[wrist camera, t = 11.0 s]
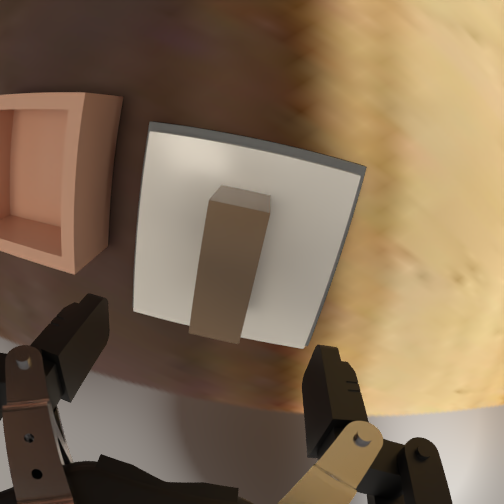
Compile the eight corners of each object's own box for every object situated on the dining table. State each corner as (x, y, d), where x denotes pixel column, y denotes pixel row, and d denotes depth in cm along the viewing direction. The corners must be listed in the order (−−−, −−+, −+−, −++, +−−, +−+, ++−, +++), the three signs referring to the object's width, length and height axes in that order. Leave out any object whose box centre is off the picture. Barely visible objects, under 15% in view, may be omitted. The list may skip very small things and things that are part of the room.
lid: (155, 130, 19) (121, 133, 14) (356, 173, 19) (382, 189, 15) (138, 304, 24) (112, 342, 19) (302, 340, 24) (307, 386, 19)
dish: (14, 96, 18) (-28, 97, 14) (123, 96, 19) (85, 92, 14) (9, 220, 22) (-28, 240, 18) (108, 246, 23) (74, 274, 18)
